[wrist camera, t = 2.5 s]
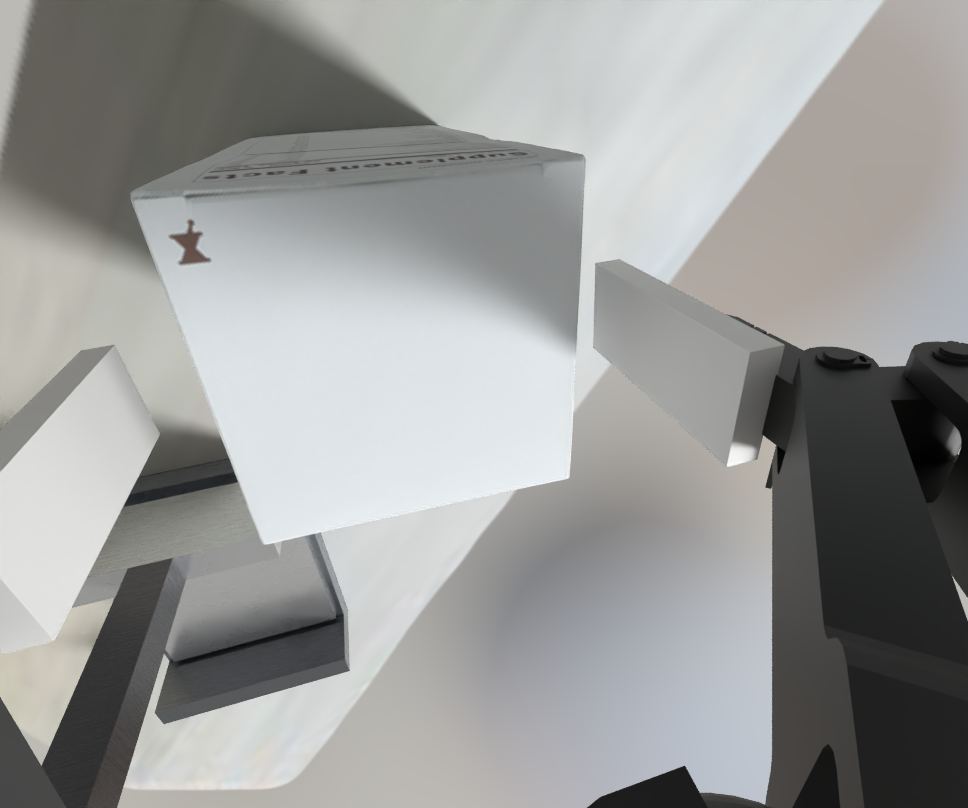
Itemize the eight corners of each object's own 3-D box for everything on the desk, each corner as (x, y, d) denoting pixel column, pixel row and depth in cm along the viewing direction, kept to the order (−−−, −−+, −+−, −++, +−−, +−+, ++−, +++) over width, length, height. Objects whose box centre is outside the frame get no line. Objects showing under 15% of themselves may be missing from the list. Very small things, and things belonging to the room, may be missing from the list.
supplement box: (289, 327, 28) (245, 558, 14) (238, 135, 23) (91, 190, 9) (461, 303, 30) (578, 487, 15) (448, 122, 25) (601, 149, 11)
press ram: (277, 469, 29) (177, 1153, 10) (288, 498, 30) (216, 1160, 11) (65, 515, 27) (-541, 1456, 8) (85, 543, 29) (-406, 1427, 10)
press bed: (289, 446, 31) (283, 500, 27) (347, 609, 40) (349, 670, 35) (73, 491, 29) (30, 557, 25) (182, 653, 38) (163, 724, 33)
